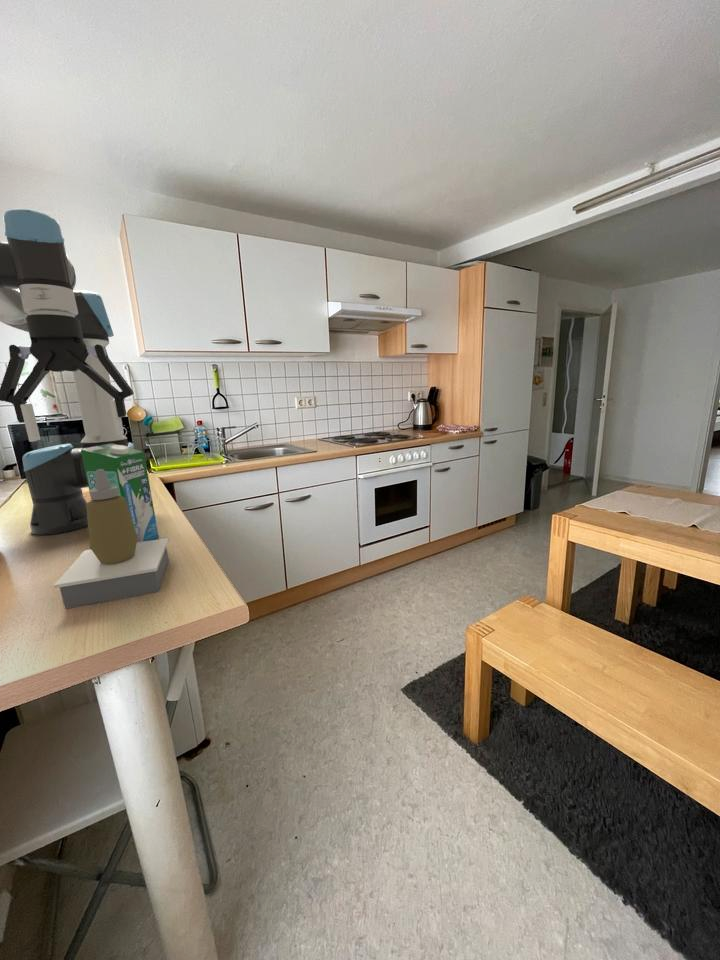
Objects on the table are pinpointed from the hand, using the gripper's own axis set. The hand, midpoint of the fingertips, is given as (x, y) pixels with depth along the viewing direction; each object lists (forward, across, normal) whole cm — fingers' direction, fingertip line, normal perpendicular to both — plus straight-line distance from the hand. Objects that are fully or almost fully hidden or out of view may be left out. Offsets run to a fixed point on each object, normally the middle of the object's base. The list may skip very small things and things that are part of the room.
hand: (79, 437), depth 73 cm
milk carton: (+29, 0, +20) cm, 36 cm away
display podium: (+29, +3, -3) cm, 29 cm away
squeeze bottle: (+24, +3, -3) cm, 24 cm away
